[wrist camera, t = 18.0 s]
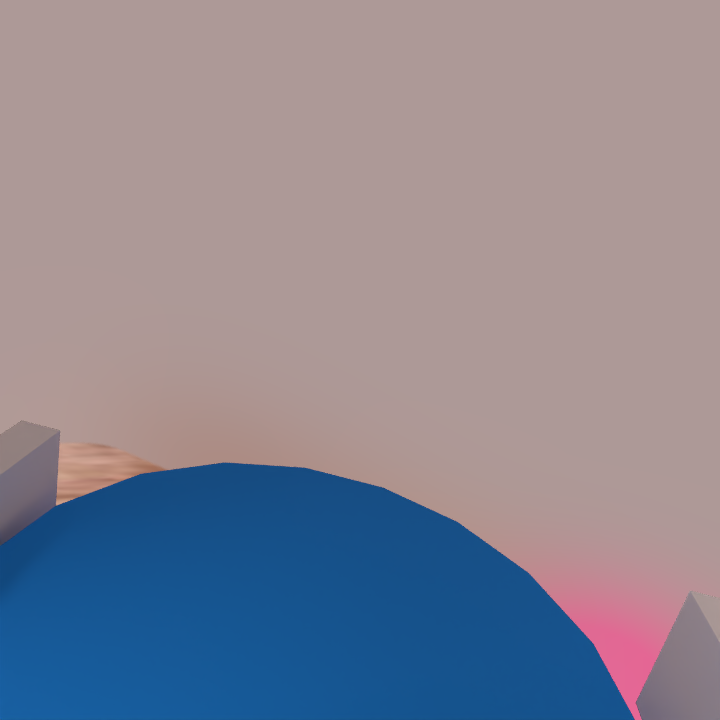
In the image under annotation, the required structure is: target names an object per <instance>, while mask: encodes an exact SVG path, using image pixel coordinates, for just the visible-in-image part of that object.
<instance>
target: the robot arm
mask: <svg viewBox="0 0 720 720" xmlns="http://www.w3.org/2000/svg"><path fill="white" fill-rule="evenodd" d="M59 441H60V430H57V429H53V428H49V427H45V426H41V425H37V424H33V423H29V422H25V421H20V422H19V423H17V424H16V425H14V426H13V427H11V428H10V429H8V430H7V431H5V432H4V433H2V434H0V546H1V545H2V544H4V543H5V542H6V541H8V540H9V539H10V538H12V537H13V536H15V535H16V534H17V533H19V532H20V531H21V530H23V529H24V528H26V527H27V526H28V525H30V524H31V523H32V522H34V521H35V520H37V519H38V518H39V517H41V516H42V515H43V514H45V513H46V512H48V511H49V510H50V509H52V508H53V507H54V506H56V493H57V475H58V458H59ZM636 704H637V707H638V710H639V713H640V716H641V718H642V720H720V598H717V597H713V596H709V595H705V594H701V593H697V592H693V591H690V592H689V594H688V596H687V598H686V600H685V602H684V605H683V607H682V608H681V611H680V613H679V615H678V617H677V619H676V621H675V623H674V625H673V627H672V629H671V631H670V633H669V635H668V638H667V640H666V642H665V644H664V646H663V648H662V650H661V652H660V654H659V656H658V658H657V660H656V662H655V664H654V666H653V668H652V670H651V673H650V674H649V676H648V679H647V681H646V683H645V685H644V687H643V689H642V691H641V693H640V695H639V697H638V699H637V701H636Z"/></svg>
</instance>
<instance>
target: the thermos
mask: <svg viewBox="0 0 720 720" xmlns="http://www.w3.org/2000/svg"><path fill="white" fill-rule="evenodd" d="M0 720H635V719H634V718H633V716H632V714H631V712H630V710H629V708H628V707H627V705H626V703H625V701H624V699H623V698H622V695H621V694H620V692H619V690H618V688H617V686H616V684H615V683H614V681H613V679H612V677H611V675H610V673H609V672H608V670H607V668H606V666H605V664H604V663H603V661H602V659H601V657H600V655H599V653H598V651H597V650H596V648H595V646H594V644H593V643H592V642H591V641H590V640H589V638H587V636H586V635H585V634H584V633H583V632H582V631H581V630H580V629H579V628H578V626H577V625H576V624H575V623H574V622H573V621H572V620H571V619H570V618H569V617H568V616H567V614H566V613H565V612H564V611H563V610H562V609H561V608H560V607H559V606H558V605H557V604H556V603H555V601H554V600H553V599H552V598H551V597H550V596H549V595H548V594H547V593H546V592H545V590H544V589H543V588H542V587H541V586H540V585H539V584H538V583H537V582H536V581H535V579H534V578H533V577H532V576H531V575H530V574H529V573H528V572H526V571H525V570H524V569H522V568H521V567H520V566H518V565H517V564H515V563H514V562H513V561H511V560H510V559H508V558H507V557H506V556H504V555H503V554H501V553H500V552H498V551H497V550H496V549H494V548H493V547H492V546H490V545H489V544H487V543H486V542H485V541H483V540H482V539H480V538H479V537H478V536H476V535H475V534H473V533H472V532H470V531H469V530H468V529H466V528H465V527H464V526H462V525H461V524H460V523H458V522H456V521H454V520H452V519H450V518H448V517H445V516H443V515H441V514H439V513H437V512H435V511H432V510H430V509H428V508H426V507H424V506H422V505H419V504H417V503H415V502H413V501H411V500H409V499H406V498H404V497H402V496H400V495H398V494H395V493H393V492H391V491H389V490H387V489H385V488H382V487H378V486H374V485H371V484H367V483H362V482H359V481H354V480H351V479H347V478H343V477H339V476H335V475H331V474H328V473H324V472H320V471H315V470H312V469H308V468H300V467H299V468H298V467H285V466H268V465H254V464H239V463H218V464H211V465H203V466H197V467H189V468H181V469H174V470H166V471H159V472H152V473H144V474H139V475H137V476H134V477H131V478H129V479H126V480H123V481H121V482H118V483H115V484H113V485H110V486H107V487H105V488H102V489H100V490H97V491H94V492H92V493H89V494H86V495H84V496H81V497H78V498H76V499H73V500H70V501H68V502H65V503H62V504H60V505H57V506H54V507H53V508H52V509H50V510H49V511H48V512H46V513H45V514H43V515H42V516H41V517H39V518H38V519H37V520H35V521H34V522H32V523H31V524H30V525H28V526H27V527H26V528H24V529H23V530H21V531H20V532H19V533H17V534H16V535H15V536H13V537H12V538H10V539H9V540H8V541H6V542H5V543H4V544H2V545H1V546H0Z"/></svg>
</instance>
